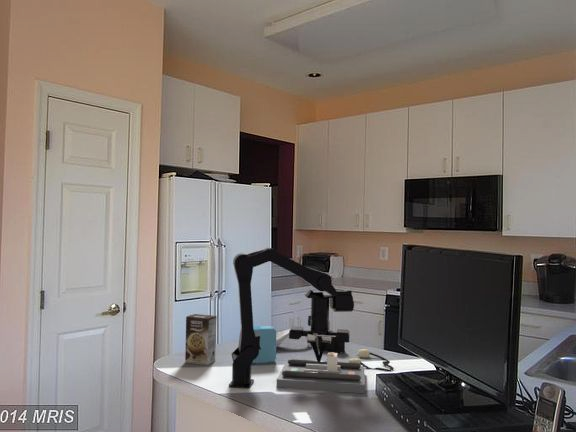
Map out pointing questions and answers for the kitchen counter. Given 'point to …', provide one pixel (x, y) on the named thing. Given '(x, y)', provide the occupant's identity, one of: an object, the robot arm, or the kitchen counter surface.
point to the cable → (365, 354)
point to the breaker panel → (322, 381)
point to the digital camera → (333, 345)
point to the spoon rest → (282, 335)
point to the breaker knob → (332, 361)
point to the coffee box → (200, 339)
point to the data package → (266, 344)
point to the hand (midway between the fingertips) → (318, 361)
